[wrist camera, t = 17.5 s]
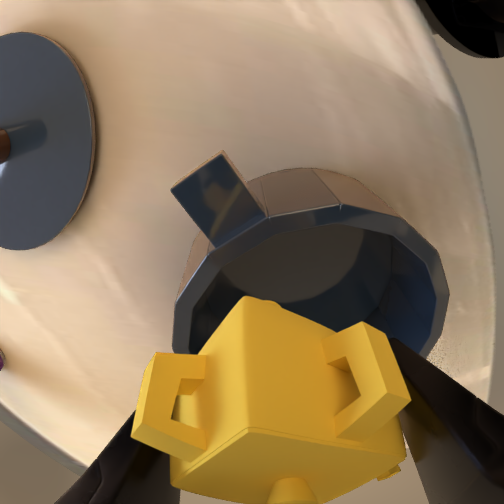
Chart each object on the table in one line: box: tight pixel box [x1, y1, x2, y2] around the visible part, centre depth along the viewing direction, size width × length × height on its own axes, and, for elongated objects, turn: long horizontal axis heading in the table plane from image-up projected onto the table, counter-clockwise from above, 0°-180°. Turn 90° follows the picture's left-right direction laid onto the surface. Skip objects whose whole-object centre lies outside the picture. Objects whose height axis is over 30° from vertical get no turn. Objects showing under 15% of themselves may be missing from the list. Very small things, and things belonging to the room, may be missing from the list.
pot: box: [170, 150, 450, 359], centre depth 17 cm, size 14×19×6 cm
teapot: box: [131, 296, 411, 504], centre depth 7 cm, size 8×6×5 cm
